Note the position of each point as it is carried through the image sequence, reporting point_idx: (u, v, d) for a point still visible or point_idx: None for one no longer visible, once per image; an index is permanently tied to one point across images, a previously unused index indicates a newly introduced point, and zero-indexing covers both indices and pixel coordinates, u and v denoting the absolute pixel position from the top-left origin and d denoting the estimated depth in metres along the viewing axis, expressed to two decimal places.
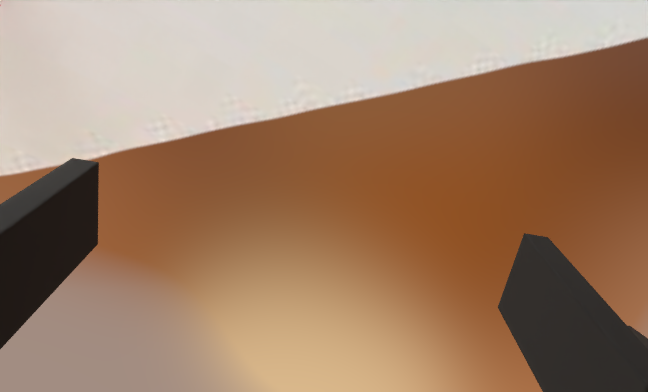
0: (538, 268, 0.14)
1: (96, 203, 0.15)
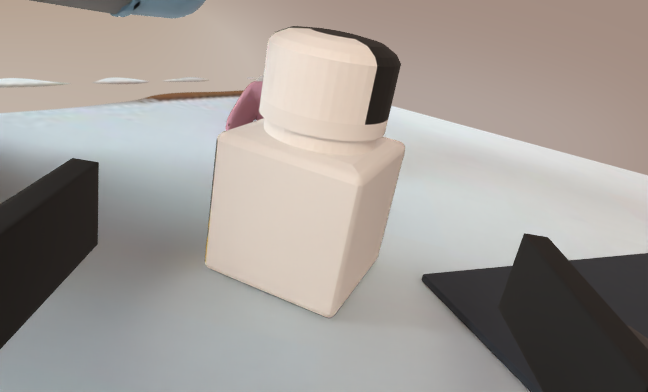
0: (538, 268, 0.14)
1: (96, 203, 0.15)
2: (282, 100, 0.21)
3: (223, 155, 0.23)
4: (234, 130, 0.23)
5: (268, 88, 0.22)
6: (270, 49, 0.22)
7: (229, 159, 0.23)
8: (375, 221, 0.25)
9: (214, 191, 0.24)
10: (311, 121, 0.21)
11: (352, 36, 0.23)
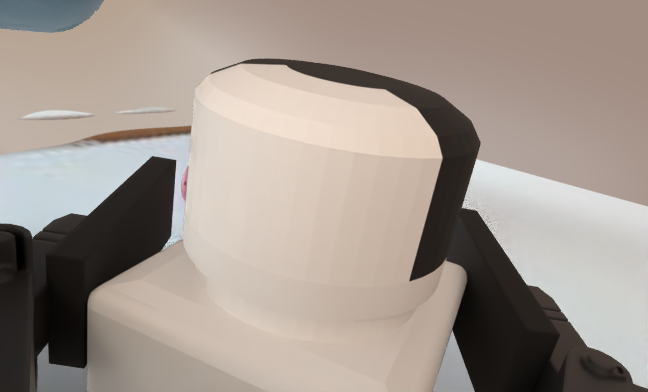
0: (462, 237, 0.15)
1: (172, 198, 0.17)
2: (222, 233, 0.09)
3: (100, 338, 0.10)
4: (126, 280, 0.11)
5: (193, 199, 0.10)
6: (195, 113, 0.10)
7: (112, 347, 0.10)
8: None
9: None
10: (287, 283, 0.09)
11: (376, 81, 0.11)
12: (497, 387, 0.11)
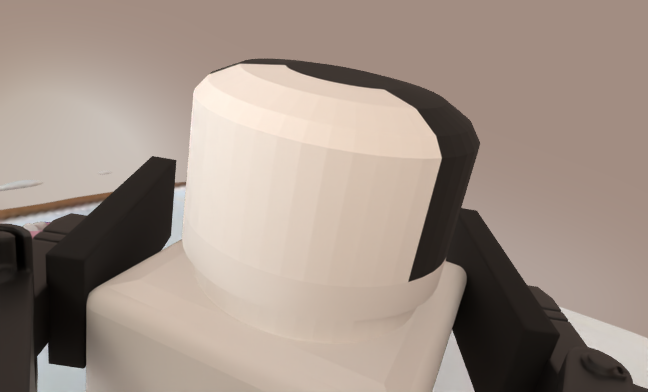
0: (462, 237, 0.15)
1: (171, 198, 0.17)
2: (221, 233, 0.09)
3: (99, 338, 0.10)
4: (125, 280, 0.11)
5: (192, 199, 0.10)
6: (194, 113, 0.10)
7: (111, 348, 0.10)
8: None
9: None
10: (286, 284, 0.09)
11: (375, 81, 0.11)
12: (497, 387, 0.11)
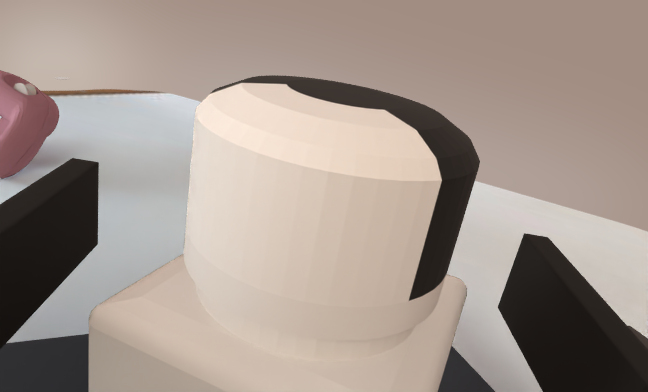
0: (538, 268, 0.14)
1: (96, 203, 0.15)
2: (222, 252, 0.09)
3: (101, 355, 0.11)
4: (127, 297, 0.11)
5: (195, 218, 0.10)
6: (196, 133, 0.10)
7: (114, 365, 0.10)
8: None
9: None
10: (287, 304, 0.09)
11: (376, 99, 0.11)
12: None
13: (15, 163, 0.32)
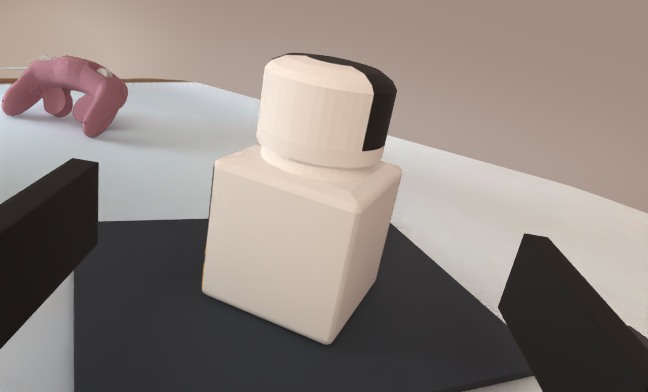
0: (538, 268, 0.14)
1: (96, 203, 0.15)
2: (279, 128, 0.21)
3: (220, 182, 0.23)
4: (231, 157, 0.23)
5: (265, 116, 0.22)
6: (267, 77, 0.22)
7: (226, 186, 0.23)
8: (373, 246, 0.25)
9: (211, 217, 0.23)
10: (308, 148, 0.21)
11: (348, 63, 0.23)
12: None
13: (100, 126, 0.44)
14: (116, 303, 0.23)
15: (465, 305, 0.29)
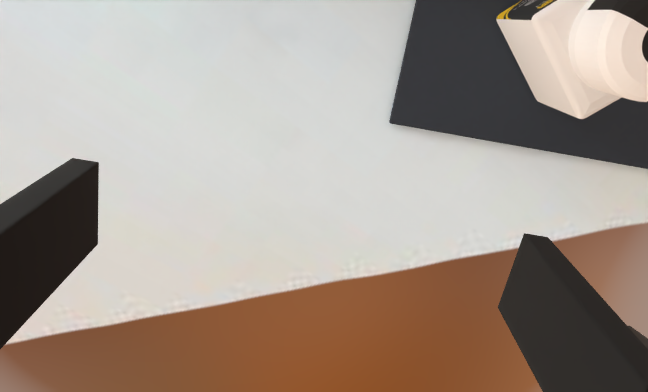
0: (538, 268, 0.14)
1: (96, 203, 0.15)
2: (578, 56, 0.28)
3: (529, 26, 0.30)
4: (547, 19, 0.29)
5: (580, 35, 0.27)
6: (598, 28, 0.25)
7: (531, 31, 0.30)
8: None
9: (516, 21, 0.32)
10: (583, 78, 0.29)
11: None
12: None
13: None
14: (441, 8, 0.35)
15: None
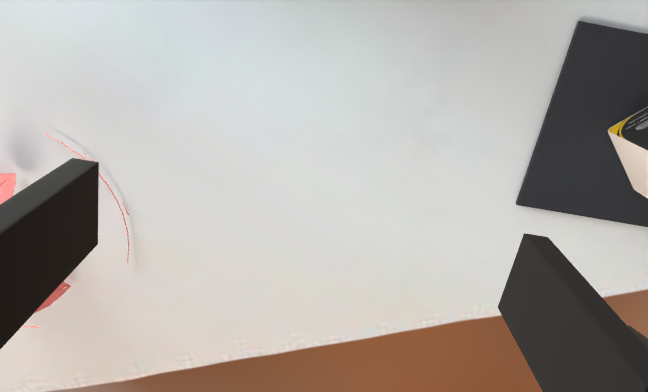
0: (538, 268, 0.14)
1: (96, 203, 0.15)
2: None
3: (646, 153, 0.41)
4: None
5: None
6: None
7: (647, 156, 0.41)
8: None
9: (632, 144, 0.42)
10: None
11: None
12: None
13: None
14: (565, 122, 0.46)
15: None
